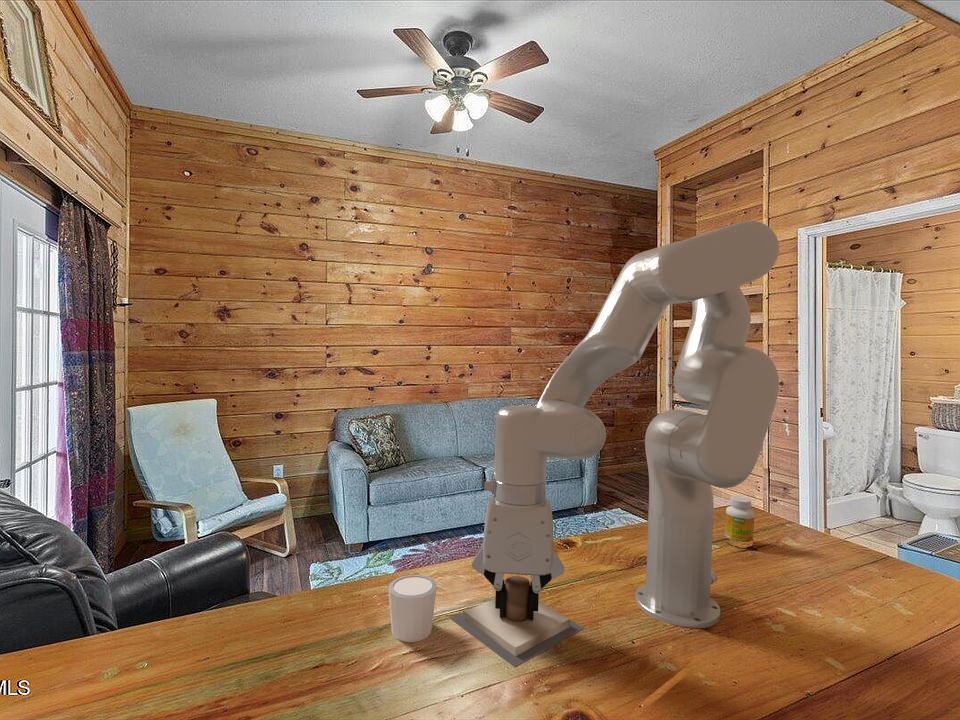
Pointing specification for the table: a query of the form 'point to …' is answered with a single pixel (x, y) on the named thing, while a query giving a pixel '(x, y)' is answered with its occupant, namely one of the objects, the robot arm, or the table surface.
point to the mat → (523, 656)
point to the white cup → (412, 607)
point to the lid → (516, 619)
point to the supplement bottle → (739, 520)
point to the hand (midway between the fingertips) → (516, 612)
